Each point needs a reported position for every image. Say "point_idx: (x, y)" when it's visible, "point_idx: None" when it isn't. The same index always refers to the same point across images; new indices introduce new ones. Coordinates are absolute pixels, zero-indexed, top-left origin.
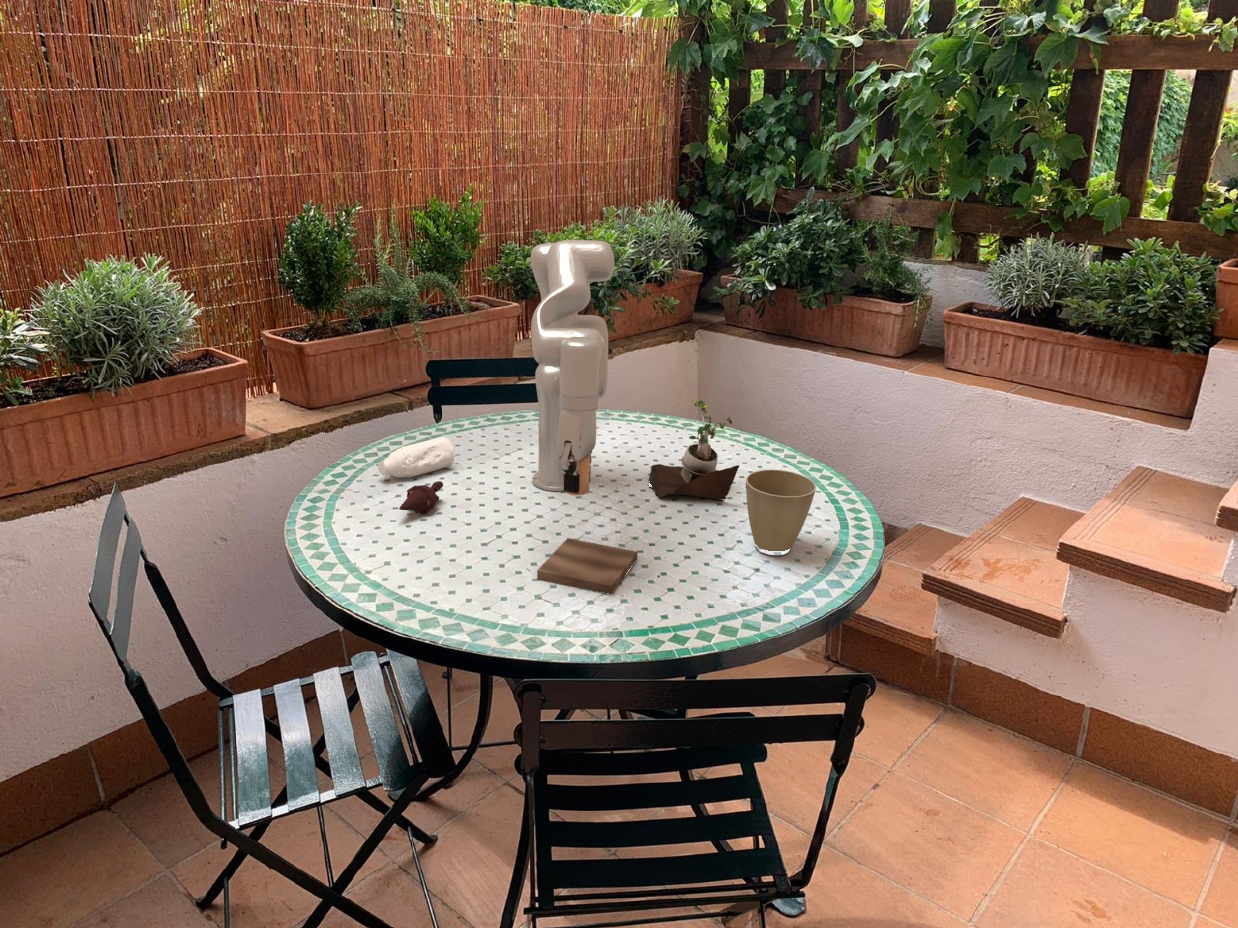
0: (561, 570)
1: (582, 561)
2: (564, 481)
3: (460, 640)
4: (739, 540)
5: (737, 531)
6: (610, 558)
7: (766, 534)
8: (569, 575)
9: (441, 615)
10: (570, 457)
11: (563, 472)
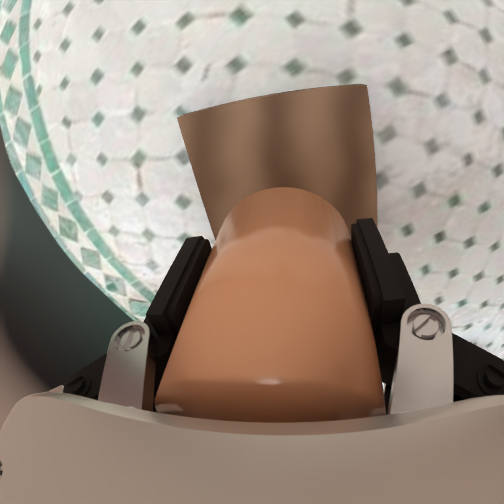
0: (210, 159)
1: (275, 175)
2: (171, 274)
3: (18, 159)
4: (471, 325)
5: (494, 314)
6: None
7: None
8: (204, 185)
9: (26, 94)
10: (240, 405)
11: (115, 334)
